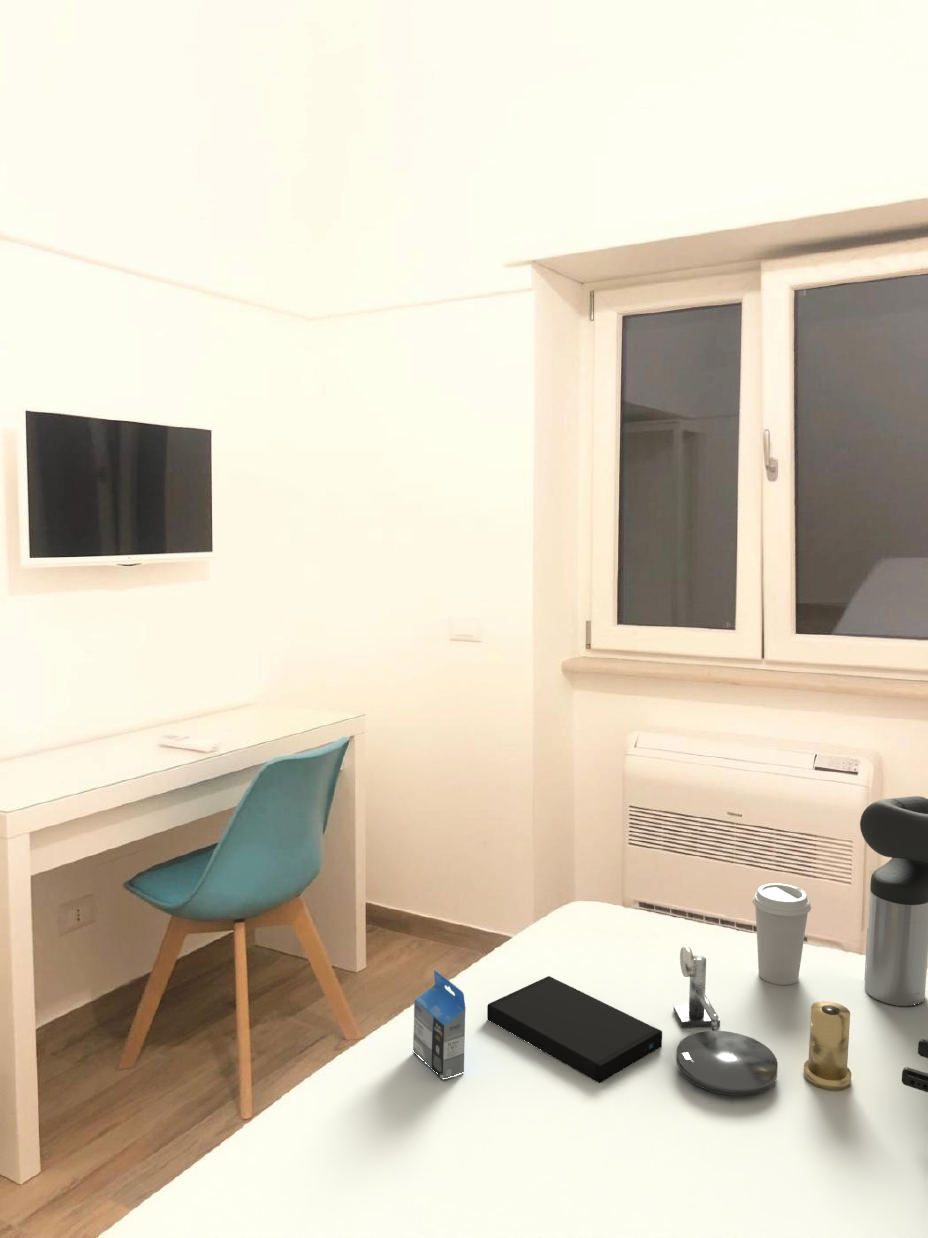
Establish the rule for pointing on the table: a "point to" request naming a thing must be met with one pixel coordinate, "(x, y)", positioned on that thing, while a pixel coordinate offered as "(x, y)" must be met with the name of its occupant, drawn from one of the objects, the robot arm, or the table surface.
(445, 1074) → the label tape box
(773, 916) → the coffee cup
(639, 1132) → the table surface
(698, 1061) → the turntable platter
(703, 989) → the dial gauge stand
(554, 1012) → the external hard drive
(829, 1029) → the brass cover
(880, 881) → the robot arm
